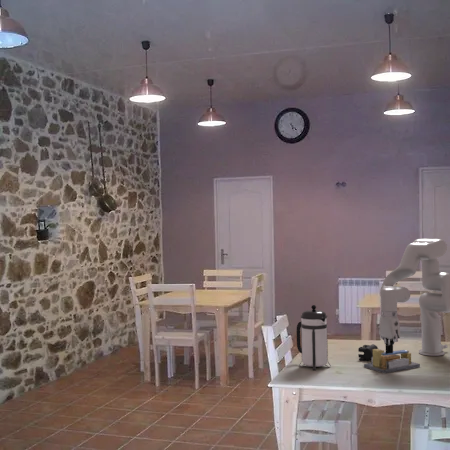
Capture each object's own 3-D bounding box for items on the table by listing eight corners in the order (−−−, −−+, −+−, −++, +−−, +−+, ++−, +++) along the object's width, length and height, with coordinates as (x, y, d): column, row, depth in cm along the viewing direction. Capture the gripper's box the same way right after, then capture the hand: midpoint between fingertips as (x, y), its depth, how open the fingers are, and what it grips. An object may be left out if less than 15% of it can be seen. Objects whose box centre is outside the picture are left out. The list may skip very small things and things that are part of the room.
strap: (404, 351, 302) (404, 349, 302) (408, 352, 300) (408, 350, 300) (379, 354, 295) (379, 352, 295) (383, 355, 293) (383, 353, 293)
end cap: (371, 362, 308) (371, 348, 308) (358, 360, 312) (357, 347, 312) (378, 357, 317) (378, 344, 317) (365, 356, 321) (365, 343, 321)
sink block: (398, 361, 308) (398, 342, 308) (419, 367, 296) (419, 347, 296) (364, 367, 298) (363, 348, 298) (384, 373, 286) (383, 353, 285)
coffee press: (332, 363, 307) (331, 302, 306) (328, 371, 291) (327, 307, 291) (297, 362, 311) (296, 302, 311) (292, 369, 296) (290, 306, 295)
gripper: (406, 315, 291) (406, 354, 291) (384, 311, 304) (384, 349, 304) (393, 316, 287) (394, 356, 287) (372, 312, 301) (372, 350, 301)
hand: (389, 352), depth 296 cm, fingers closed
